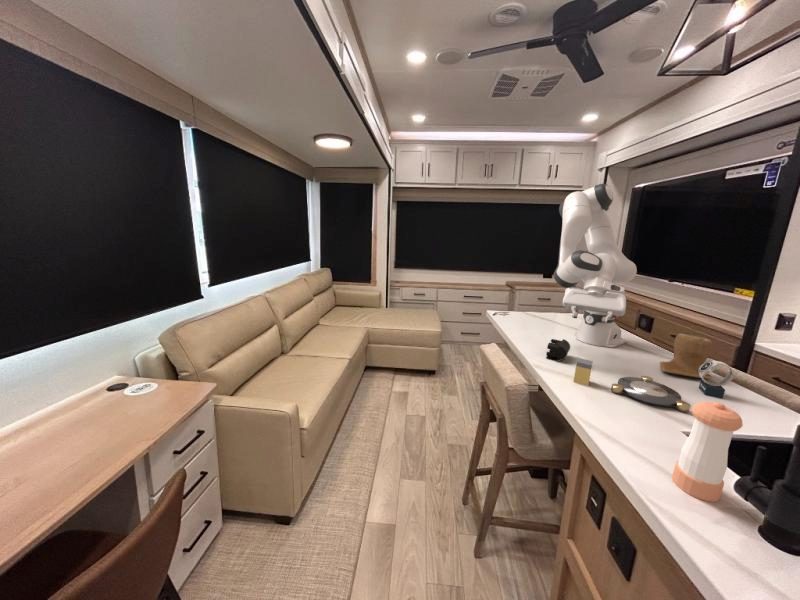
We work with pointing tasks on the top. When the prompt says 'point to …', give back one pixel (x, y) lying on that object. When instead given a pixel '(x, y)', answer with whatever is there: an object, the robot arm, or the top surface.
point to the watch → (713, 387)
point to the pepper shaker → (706, 451)
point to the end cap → (557, 350)
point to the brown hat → (688, 356)
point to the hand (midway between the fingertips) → (589, 319)
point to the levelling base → (650, 392)
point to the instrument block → (583, 371)
